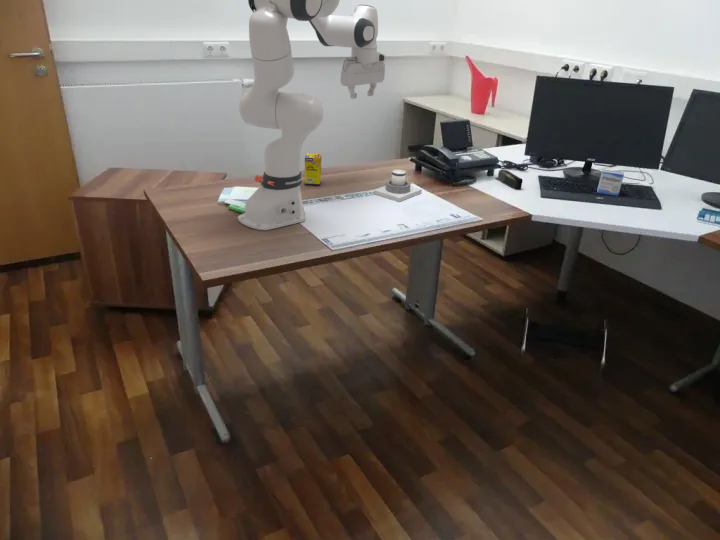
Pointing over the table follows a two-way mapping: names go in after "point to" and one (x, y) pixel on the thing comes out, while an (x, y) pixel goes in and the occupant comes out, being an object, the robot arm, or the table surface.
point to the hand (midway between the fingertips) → (362, 97)
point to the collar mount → (397, 191)
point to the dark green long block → (509, 179)
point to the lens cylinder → (398, 177)
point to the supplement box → (313, 169)
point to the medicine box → (610, 182)
